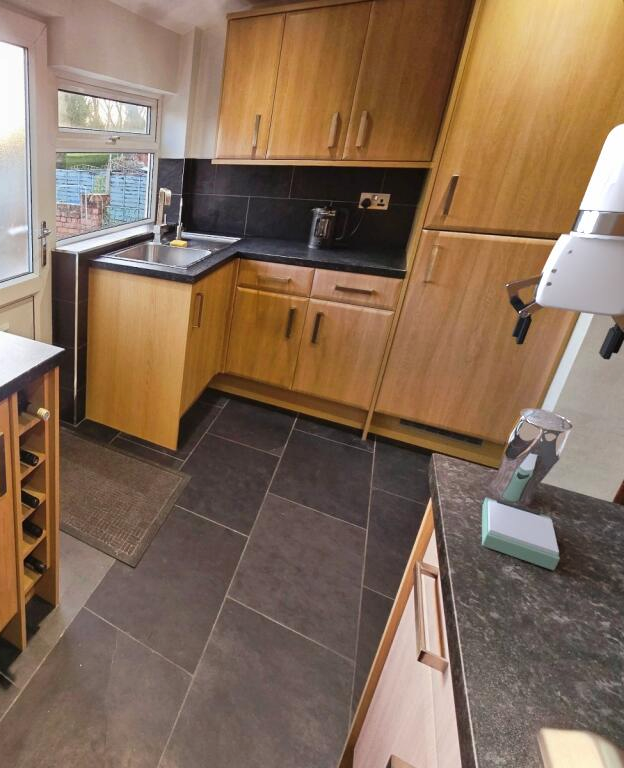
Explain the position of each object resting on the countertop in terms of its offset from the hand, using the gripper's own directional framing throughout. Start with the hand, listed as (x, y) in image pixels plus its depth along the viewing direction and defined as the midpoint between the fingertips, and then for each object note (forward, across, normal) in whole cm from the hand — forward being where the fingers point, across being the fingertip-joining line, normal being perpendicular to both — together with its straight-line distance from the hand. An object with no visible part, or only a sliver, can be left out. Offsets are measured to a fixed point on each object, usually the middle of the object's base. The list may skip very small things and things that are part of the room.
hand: (559, 349), depth 72 cm
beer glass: (+25, -1, 0) cm, 25 cm away
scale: (+26, -2, +12) cm, 28 cm away
